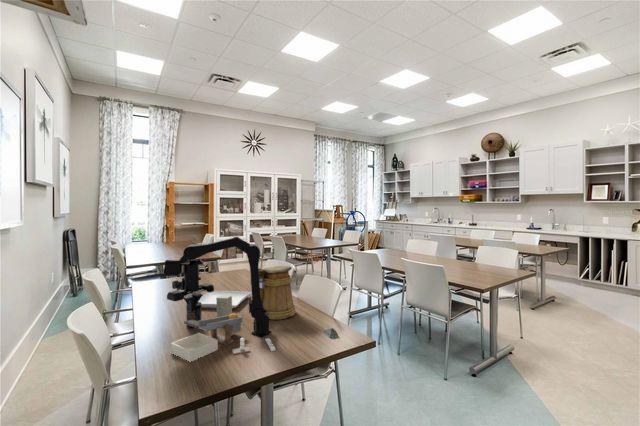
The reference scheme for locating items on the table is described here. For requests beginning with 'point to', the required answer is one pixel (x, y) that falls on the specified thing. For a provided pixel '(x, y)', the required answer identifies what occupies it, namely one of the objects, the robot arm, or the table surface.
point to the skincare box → (224, 305)
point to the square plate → (210, 297)
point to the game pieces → (242, 349)
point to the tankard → (277, 292)
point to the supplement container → (194, 313)
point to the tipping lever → (216, 323)
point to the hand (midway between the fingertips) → (191, 312)
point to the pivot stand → (223, 339)
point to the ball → (232, 316)
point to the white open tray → (194, 346)
